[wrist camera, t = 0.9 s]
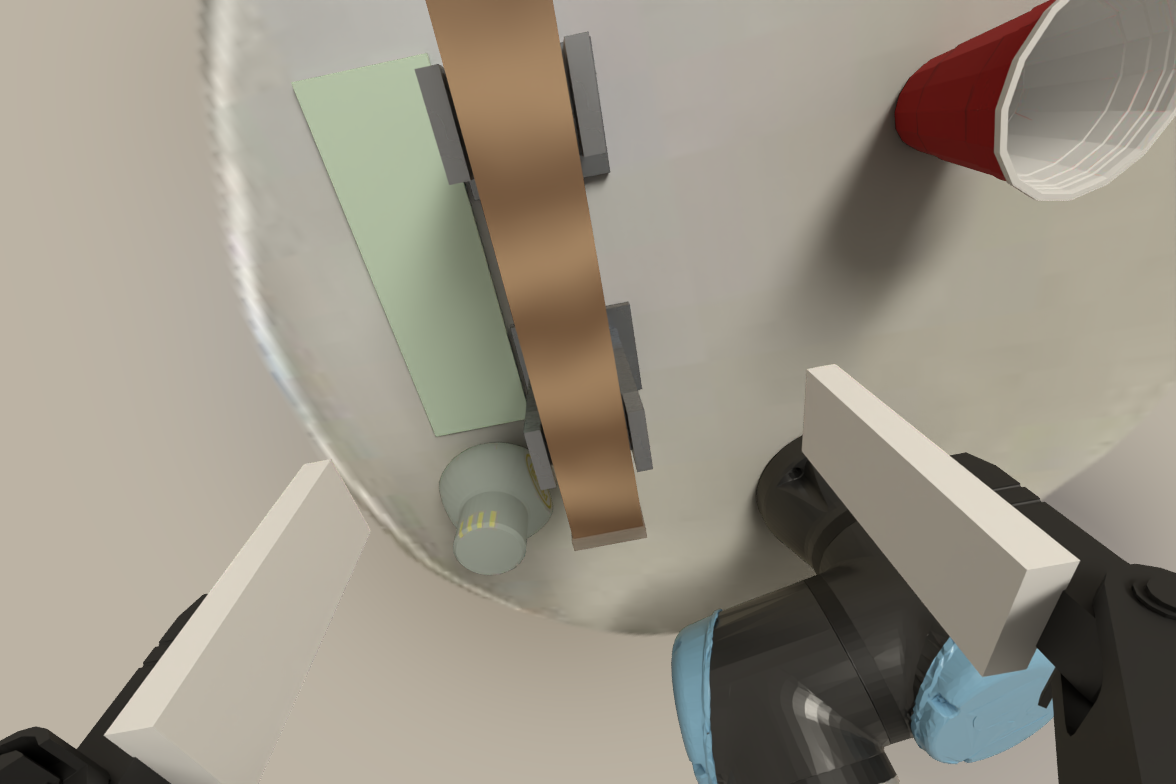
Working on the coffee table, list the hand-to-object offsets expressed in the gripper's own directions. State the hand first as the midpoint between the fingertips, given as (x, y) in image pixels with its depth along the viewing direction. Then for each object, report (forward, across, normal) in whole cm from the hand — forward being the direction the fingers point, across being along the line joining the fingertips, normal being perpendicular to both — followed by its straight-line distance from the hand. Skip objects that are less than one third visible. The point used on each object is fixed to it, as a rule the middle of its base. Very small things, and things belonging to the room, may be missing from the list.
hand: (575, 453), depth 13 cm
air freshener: (+27, +10, +20) cm, 35 cm away
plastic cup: (+27, -29, -5) cm, 40 cm away
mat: (+27, +10, 0) cm, 29 cm away
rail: (+15, 0, 0) cm, 15 cm away
